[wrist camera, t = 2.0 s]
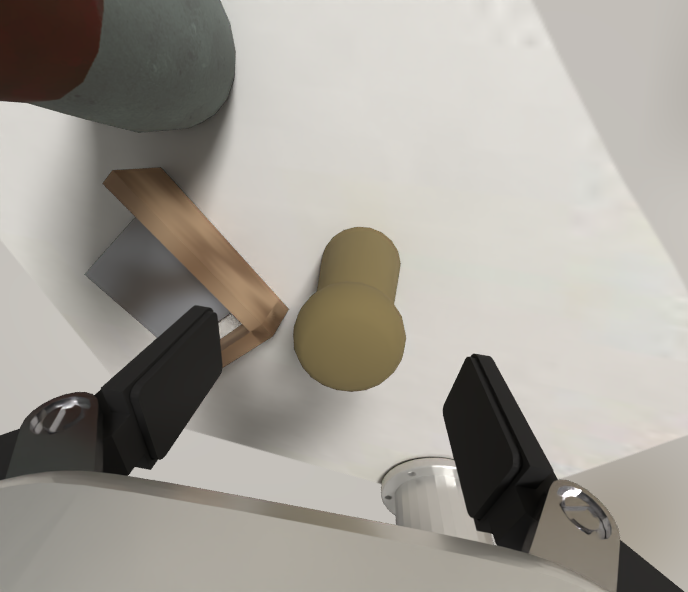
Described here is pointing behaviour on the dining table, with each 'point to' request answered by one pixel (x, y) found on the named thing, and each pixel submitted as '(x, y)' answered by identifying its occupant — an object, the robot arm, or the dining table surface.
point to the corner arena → (180, 265)
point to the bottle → (118, 59)
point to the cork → (353, 314)
